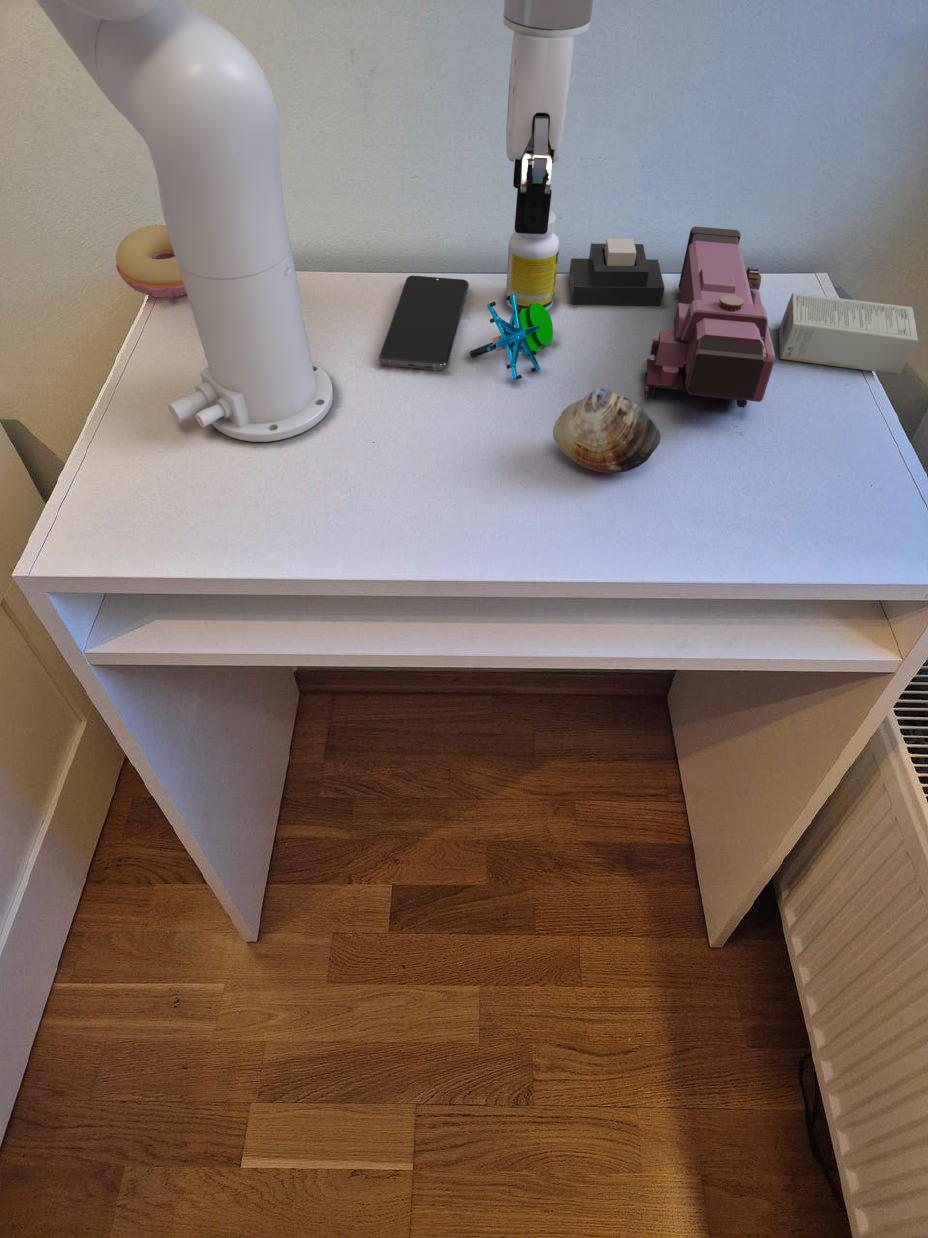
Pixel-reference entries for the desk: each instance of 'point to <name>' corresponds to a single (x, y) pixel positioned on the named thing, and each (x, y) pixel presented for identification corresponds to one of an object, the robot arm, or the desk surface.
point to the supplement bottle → (533, 267)
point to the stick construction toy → (520, 334)
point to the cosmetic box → (847, 333)
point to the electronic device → (715, 325)
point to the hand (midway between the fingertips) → (529, 208)
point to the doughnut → (150, 263)
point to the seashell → (606, 433)
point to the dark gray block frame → (615, 280)
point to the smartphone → (425, 323)
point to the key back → (620, 252)
